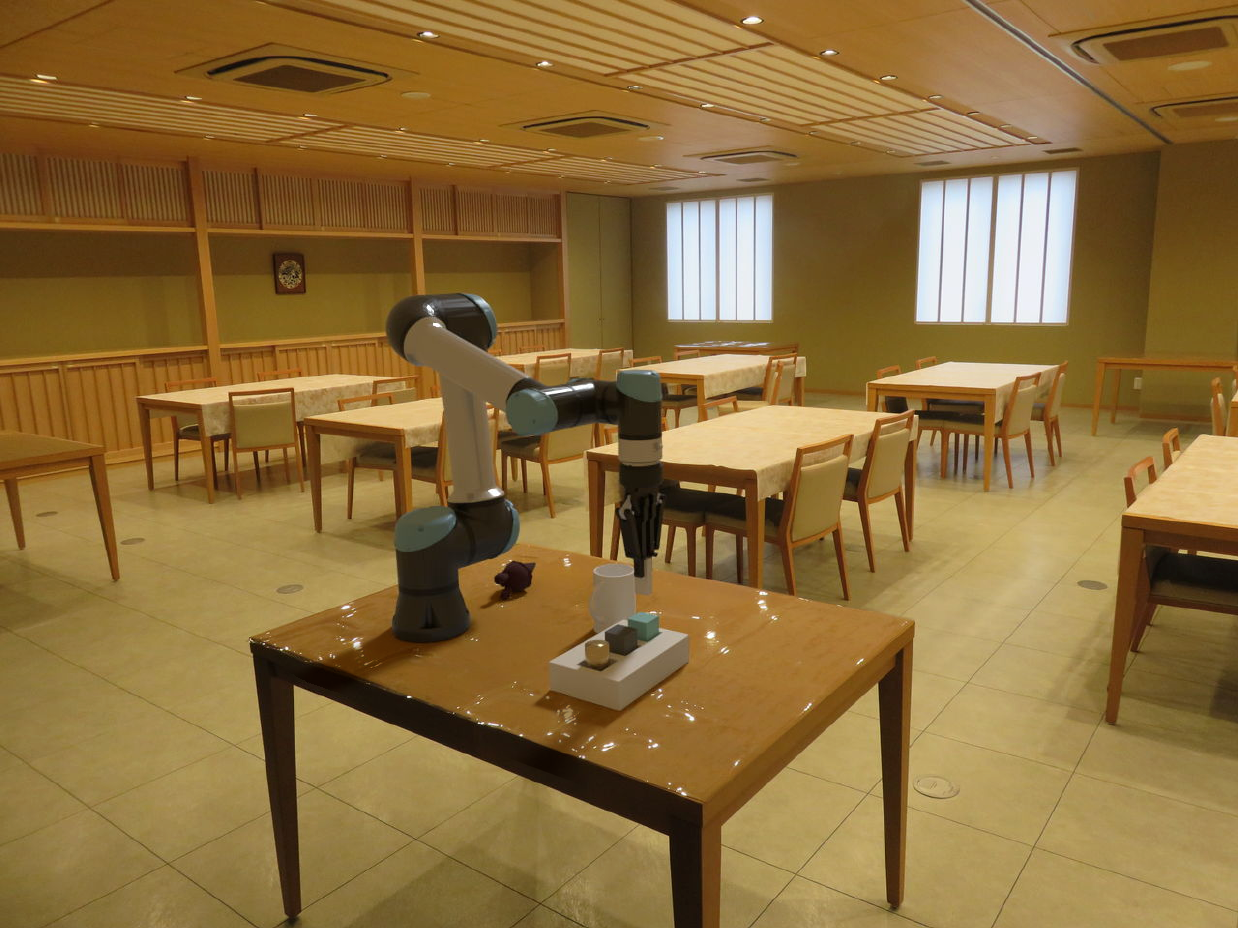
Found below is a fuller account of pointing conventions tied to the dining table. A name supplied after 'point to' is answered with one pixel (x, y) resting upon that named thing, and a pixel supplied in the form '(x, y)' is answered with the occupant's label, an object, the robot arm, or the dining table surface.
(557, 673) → the white slotted tray
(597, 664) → the gold metal cylinder
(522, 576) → the dark purple knobbly piece
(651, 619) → the teal cube
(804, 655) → the dining table surface
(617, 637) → the dark grey cube
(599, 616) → the mug
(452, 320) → the robot arm
